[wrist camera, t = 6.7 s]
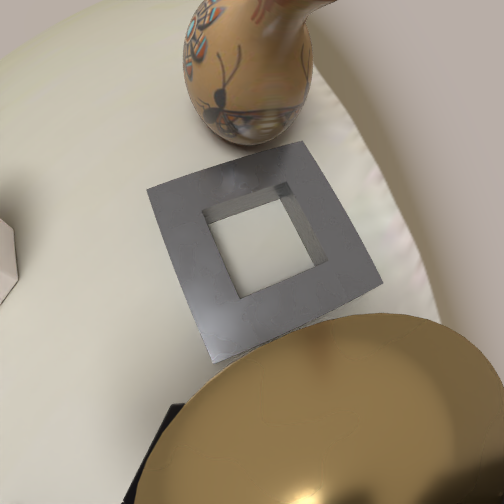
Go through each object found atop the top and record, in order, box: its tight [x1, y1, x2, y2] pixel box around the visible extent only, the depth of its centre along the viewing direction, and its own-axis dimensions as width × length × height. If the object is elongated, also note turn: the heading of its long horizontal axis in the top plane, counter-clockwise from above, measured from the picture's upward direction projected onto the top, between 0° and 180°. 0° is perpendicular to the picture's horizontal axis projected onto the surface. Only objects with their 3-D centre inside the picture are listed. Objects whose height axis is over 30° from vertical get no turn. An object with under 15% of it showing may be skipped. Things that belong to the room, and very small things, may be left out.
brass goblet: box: [134, 313, 504, 504], centre depth 9 cm, size 6×6×13 cm
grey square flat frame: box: [147, 141, 383, 364], centre depth 22 cm, size 12×12×2 cm
